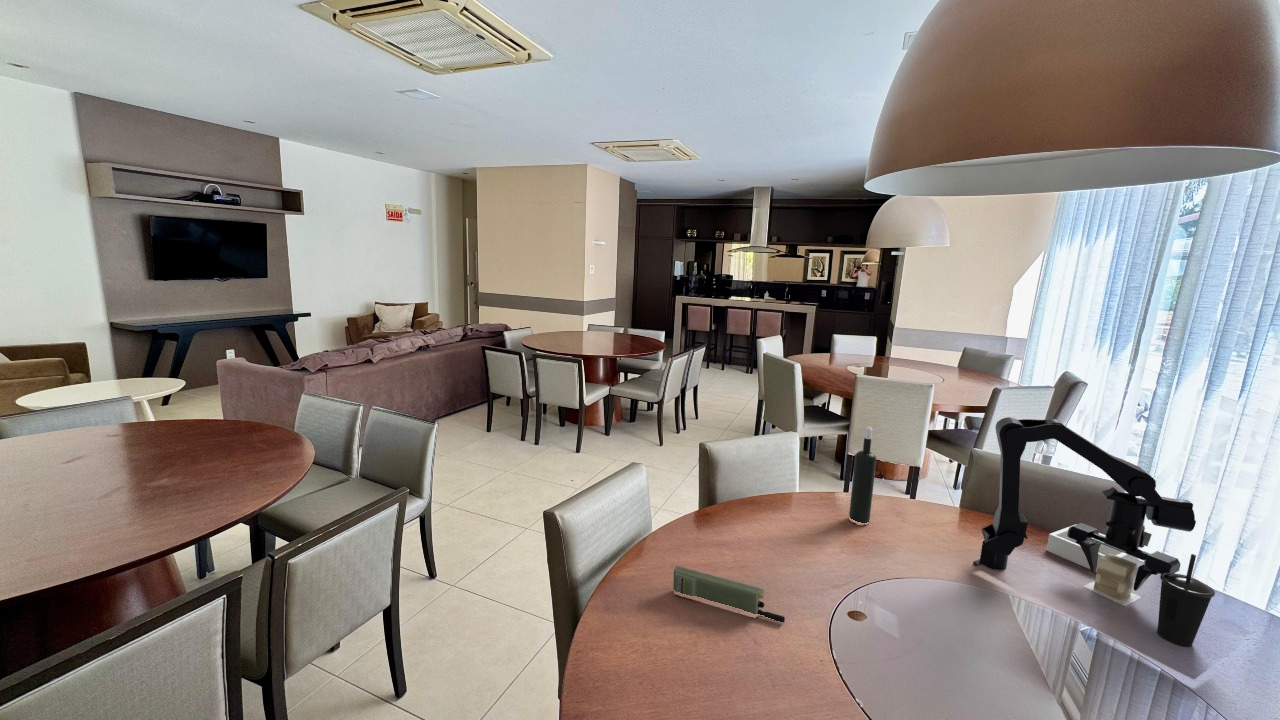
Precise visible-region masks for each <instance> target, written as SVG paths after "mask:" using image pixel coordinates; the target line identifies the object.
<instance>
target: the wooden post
mask: <svg viewBox="0 0 1280 720" xmlns="http://www.w3.org/2000/svg"><path fill="white" fill-rule="evenodd" d="M1104 555H1105V556H1103V557H1100V558H1099V564H1098V569H1097V572H1096V576H1095V580H1094V581H1095V584H1094V589H1096V590H1098V591H1101V592H1103V593H1105V594H1107V595H1109V596H1111V597H1114V598H1116V599H1118V600H1122V599H1124V598H1126V597H1128V596H1130V595H1131V593H1132V590H1133V586H1134V582H1135V577H1136V572H1137V570H1136V569H1137V567H1138V564H1136V563H1133V562H1131V561H1128V560H1126V559H1123V558H1121V557H1118V556H1116V555H1113V554H1107V555H1106V554H1104ZM1136 566H1137V567H1136Z"/></svg>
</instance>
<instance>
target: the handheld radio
mask: <svg viewBox="0 0 1280 720" xmlns="http://www.w3.org/2000/svg"><path fill="white" fill-rule="evenodd" d="M672 585H673V588H672V590H673V589H674V590H675V591H676V592H680V593H682V594H686V595H690V596H697V597H701V598H704V599H707V600H710V601H714V602H718V603H721V604H725V605H729V606H732V607H735V608H739V609H742V610H744V611H747V612H751V613H753V614H760V615H764V616H765V617H768V618H771V619H770V620H772V619H774V620H773V621H775V620H776V621H775V622H778V621H780V622H779V623H781V622H783V623H782V624H784V623H785V620H786V619H785V617H786V616H783V615H780V614H776V613H773V612H770V611H763V610H762V609H763V608H764V607H765V603H764V602H763V601H760V599H761V600H764V598H765V595H764V593H765V589H764V588H760V587H757V586H753V585H749V584H746V583H741V582H739V581H735V580H732V579H731V580H730V579H727V578H724V577H723V578H722V577H720V576H717V575H713V574H708V573H706V572H701V571H697V570H695V569H694V570H693V569H691V568H686V567H684V566H683V567H682V566H678V565H675V567H674V568H673V584H672ZM765 617H764V618H765ZM768 618H767V619H768Z"/></svg>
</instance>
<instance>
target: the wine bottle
mask: <svg viewBox="0 0 1280 720" xmlns="http://www.w3.org/2000/svg"><path fill="white" fill-rule="evenodd" d="M873 430H874V427H872V426H865V427H864V433H863V446H862V450H859V451H858V452H857V453H856V454H855V455H854V457H855V458H854V466H853V474H852V486H851V494H850V501H849V502H850V506H849V511H848V513H849V514H848V517H849V516H850V518H851V519H853V520H855V521H857V522H861V523H867V522H869V523H870V521H869V520H870V519H871V511H872V510H871V509H872V501H873V492H874V483H875V476H876V465H877V456H876V455H875V454H874V453H873V452H871V446H872V445H871V444H872V439H873V432H874V431H873Z"/></svg>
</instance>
